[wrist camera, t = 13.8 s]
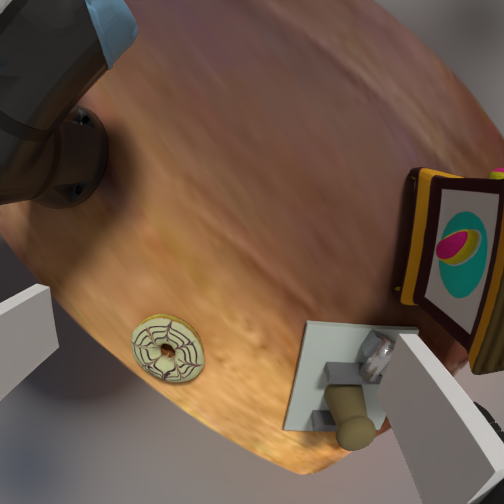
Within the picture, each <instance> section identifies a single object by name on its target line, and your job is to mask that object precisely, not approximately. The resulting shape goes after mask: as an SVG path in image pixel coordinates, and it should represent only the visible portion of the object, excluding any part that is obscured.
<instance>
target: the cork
mask: <svg viewBox="0 0 504 504" xmlns="http://www.w3.org/2000/svg"><path fill="white" fill-rule="evenodd" d="M324 399H325V401H326V403H327V405H328V407H329V410H330V412H331V414H332V416H333V418H334V420H335V423H336V425H337V427H338V428H337V431H336V440H337V442H338V444H339V446H340V447H342V448H343V449H345V450H348V451H355V450H360V449H362V448H364V447H366V446H368V445H369V444H370V443H371V442H372V441H373V439H374V437H375V434H376V428H375V425H374V423H373V421H372V420H371V419H370V418H368V416H367V410H366V404H365V399H364V393H363V388H362V385H360V384H329V385H328V386H327V387H326V389H325V391H324Z"/></svg>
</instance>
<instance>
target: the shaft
mask: <svg viewBox="0 0 504 504" xmlns="http://www.w3.org/2000/svg"><path fill="white" fill-rule="evenodd" d="M395 343H396V340H395V339H394V338H392V337H390V336H388V335H384V334H382V333H380V332H378V331H376V330H374V329H371V331H370V332H369V334H368V335H367V337H366V338H365V340H364V341H363V343H362V344H361V346H360V347H361V349H362V351H363V353H364V355H365V356H367V357H369V358H368V359H367V360H366V362H365V363H364V364H363V366H362V367H361V369H360V370H359V372H360V374H361V375H362V376H363V377H364V378H365V379H367V380H368V381H371V382H374V381H375V380H376V379H377V378H378V377H379V375H380V374H381V373H382V371H383V370H384V369H385V367H386V366H387V365H388V364H389V361H390V358H391V355H392V353H393V350H394V347H395Z"/></svg>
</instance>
